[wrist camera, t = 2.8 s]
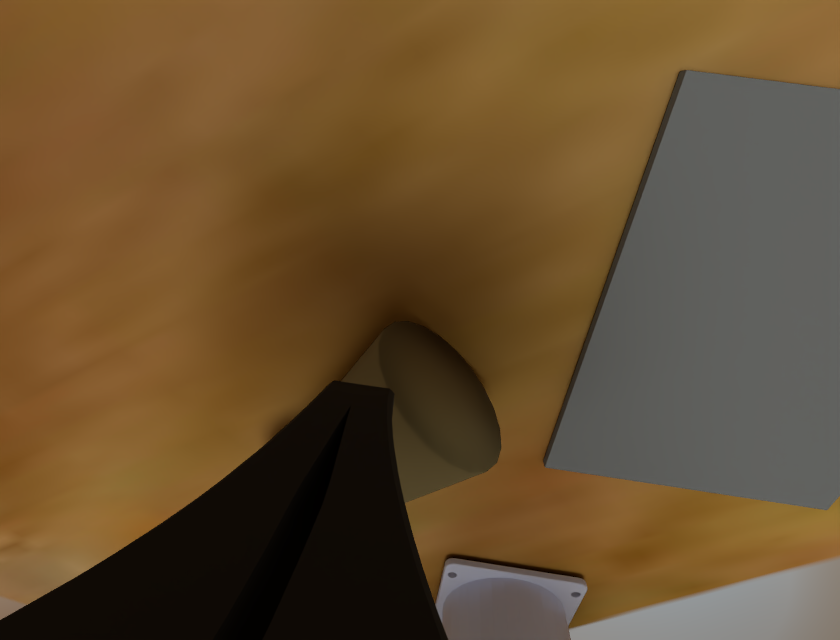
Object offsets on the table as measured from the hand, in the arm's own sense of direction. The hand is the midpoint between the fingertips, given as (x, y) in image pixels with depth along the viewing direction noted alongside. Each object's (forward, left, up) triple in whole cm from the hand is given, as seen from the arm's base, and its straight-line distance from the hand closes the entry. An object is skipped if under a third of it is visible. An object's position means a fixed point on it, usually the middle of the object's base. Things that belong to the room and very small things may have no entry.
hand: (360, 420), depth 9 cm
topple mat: (0, -14, -8) cm, 16 cm away
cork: (-2, -2, -5) cm, 6 cm away
